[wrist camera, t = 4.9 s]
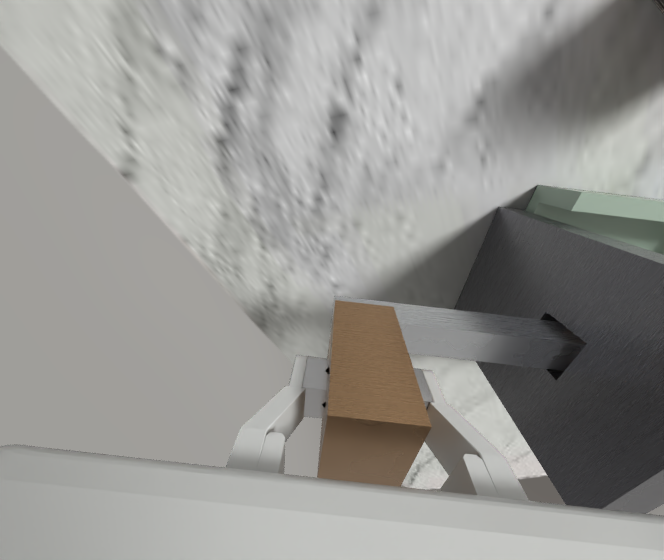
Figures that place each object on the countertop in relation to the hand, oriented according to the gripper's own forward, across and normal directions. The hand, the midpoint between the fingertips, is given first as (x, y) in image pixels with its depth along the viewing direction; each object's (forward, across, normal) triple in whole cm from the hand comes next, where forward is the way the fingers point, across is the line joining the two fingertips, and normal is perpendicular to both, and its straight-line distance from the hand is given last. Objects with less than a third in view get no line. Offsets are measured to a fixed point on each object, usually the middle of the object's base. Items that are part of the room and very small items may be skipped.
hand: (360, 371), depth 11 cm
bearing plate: (+14, -12, 0) cm, 18 cm away
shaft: (+5, -11, 0) cm, 12 cm away
